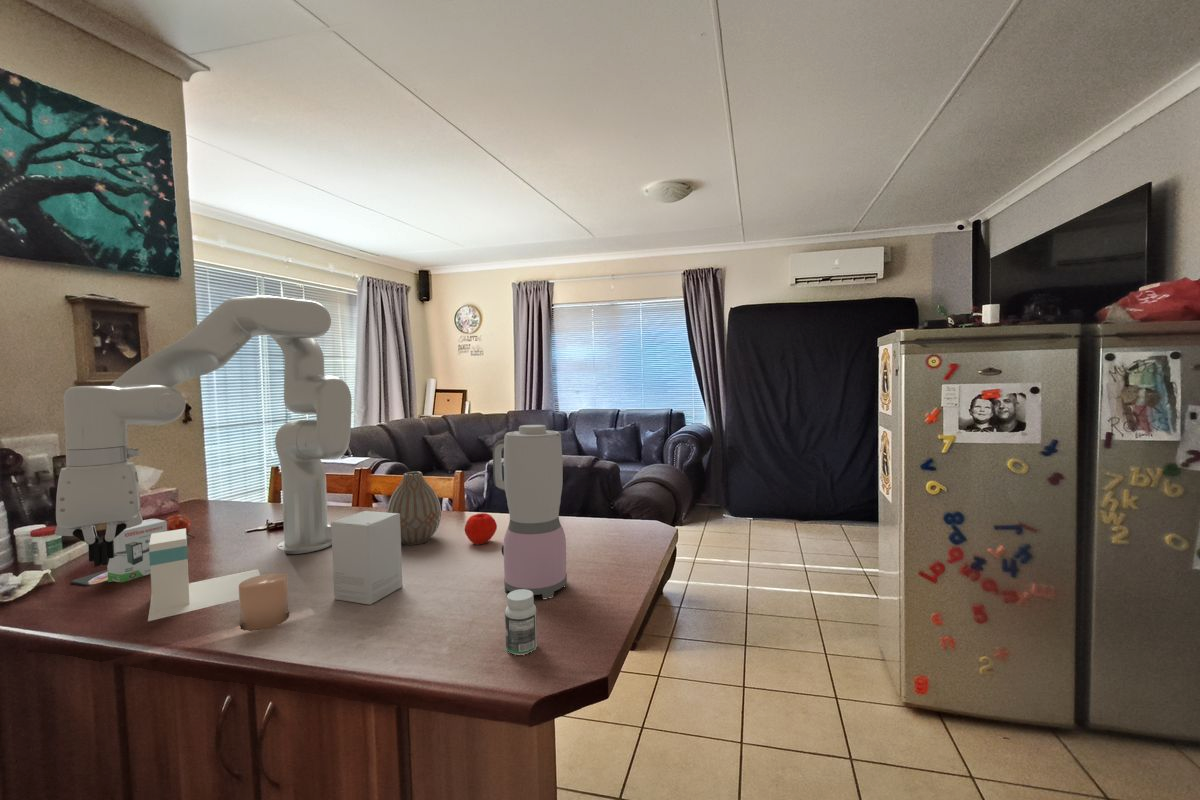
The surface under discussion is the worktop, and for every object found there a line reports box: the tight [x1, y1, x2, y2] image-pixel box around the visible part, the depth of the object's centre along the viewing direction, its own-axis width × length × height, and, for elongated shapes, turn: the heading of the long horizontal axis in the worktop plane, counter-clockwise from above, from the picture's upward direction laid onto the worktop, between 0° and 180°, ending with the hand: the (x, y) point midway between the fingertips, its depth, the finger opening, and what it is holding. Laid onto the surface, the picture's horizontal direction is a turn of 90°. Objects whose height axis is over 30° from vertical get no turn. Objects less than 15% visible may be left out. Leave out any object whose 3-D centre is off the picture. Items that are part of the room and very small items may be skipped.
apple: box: [464, 512, 498, 545], centre depth 127 cm, size 8×8×7 cm
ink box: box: [106, 518, 167, 583], centre depth 107 cm, size 9×5×12 cm, turn 158°
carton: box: [149, 528, 190, 612], centre depth 93 cm, size 5×8×12 cm, turn 39°
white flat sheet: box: [147, 568, 261, 622], centre depth 97 cm, size 17×16×1 cm
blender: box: [492, 424, 568, 598], centre depth 100 cm, size 16×12×32 cm
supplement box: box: [330, 510, 403, 605], centre depth 98 cm, size 9×9×15 cm
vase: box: [386, 471, 442, 546], centre depth 129 cm, size 13×13×18 cm
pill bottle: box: [504, 589, 538, 654], centre depth 77 cm, size 5×5×8 cm
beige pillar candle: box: [238, 572, 290, 632], centre depth 87 cm, size 7×7×7 cm
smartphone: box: [70, 569, 109, 587], centre depth 111 cm, size 8×1×15 cm
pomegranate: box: [163, 514, 196, 539], centre depth 131 cm, size 7×7×10 cm
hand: (102, 563), depth 87 cm, fingers closed
